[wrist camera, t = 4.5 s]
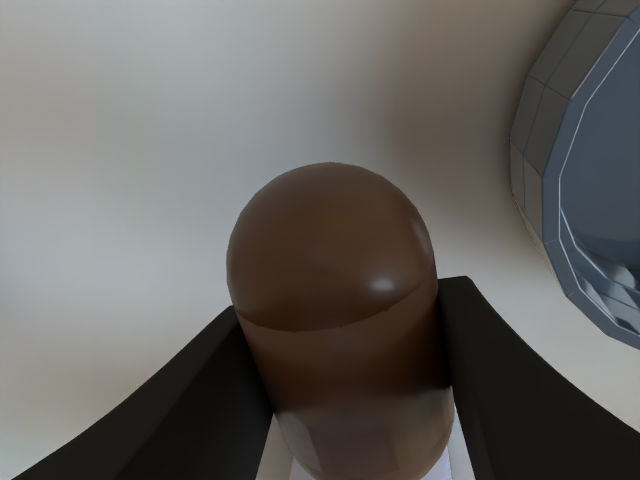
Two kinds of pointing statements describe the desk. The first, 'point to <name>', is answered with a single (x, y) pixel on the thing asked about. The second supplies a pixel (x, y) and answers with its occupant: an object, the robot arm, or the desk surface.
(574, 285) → the bowl
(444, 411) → the brown toy capsule
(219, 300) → the desk surface
